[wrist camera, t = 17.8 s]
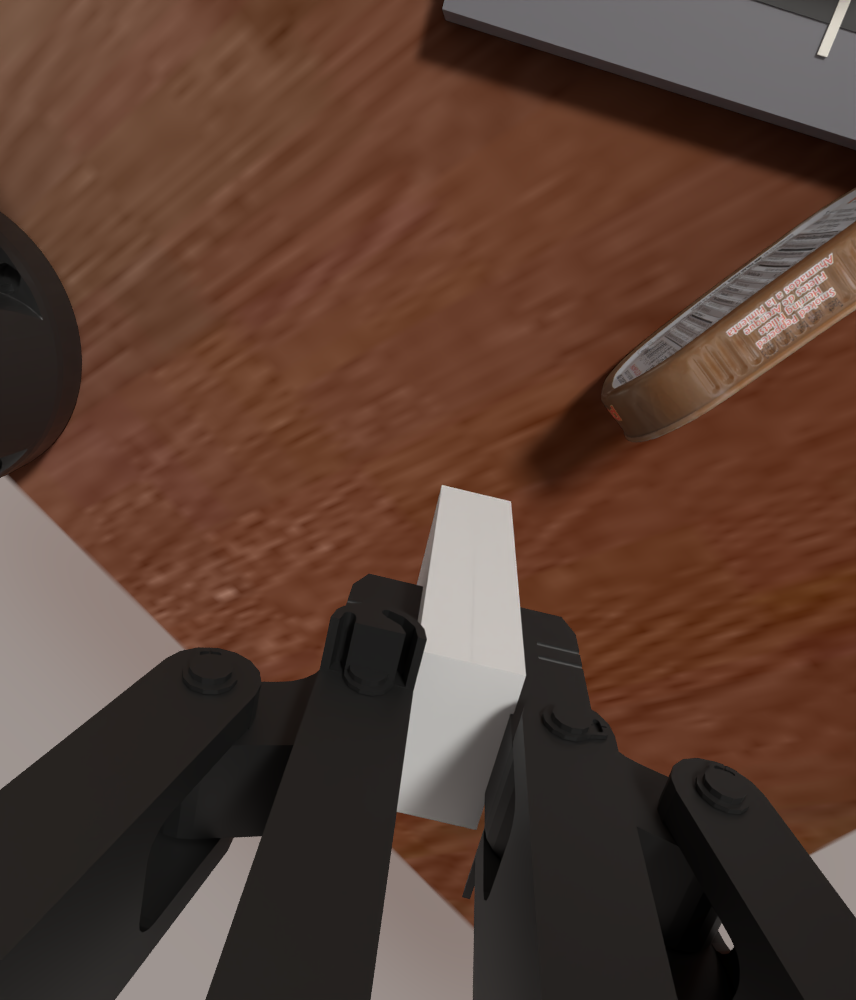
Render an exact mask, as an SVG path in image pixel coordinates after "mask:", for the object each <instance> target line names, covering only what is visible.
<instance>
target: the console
mask: <svg viewBox="0 0 856 1000" xmlns="http://www.w3.org/2000/svg"><path fill="white" fill-rule="evenodd" d="M442 10H443V14H444V17H445V20H446V21H450V22H453V23H456V24H459V25H462V26H465V27H469V28H472V29H475V30H478V31H481V32H484V33H488V34H491V35H494V36H497V37H500V38H503V39H506V40H510V41H513V42H516V43H519V44H522V45H525V46H529V47H532V48H535V49H538V50H541V51H544V52H548V53H551V54H554V55H557V56H560V57H563V58H566V59H570V60H573V61H576V62H579V63H582V64H585V65H589V66H592V67H595V68H598V69H601V70H604V71H608V72H611V73H614V74H617V75H620V76H623V77H626V78H630V79H633V80H636V81H639V82H642V83H645V84H649V85H652V86H655V87H658V88H661V89H664V90H668V91H671V92H674V93H677V94H680V95H683V96H686V97H690V98H693V99H696V100H699V101H702V102H705V103H709V104H712V105H715V106H718V107H721V108H724V109H728V110H731V111H734V112H737V113H740V114H743V115H746V116H750V117H753V118H756V119H759V120H762V121H765V122H769V123H772V124H775V125H778V126H781V127H784V128H788V129H791V130H794V131H797V132H800V133H803V134H806V135H810V136H813V137H816V138H819V139H822V140H825V141H829V142H832V143H835V144H838V145H841V146H844V147H848V148H851V149H854V150H856V0H444V3H443V7H442Z"/></svg>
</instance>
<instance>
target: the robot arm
mask: <svg viewBox="0 0 856 1000" xmlns="http://www.w3.org/2000/svg"><path fill="white" fill-rule="evenodd" d="M81 371H82V355H81V344H80V336H79V331H78V326H77V323H76V319H75V315H74V312H73V309H72V306H71V303H70V301H69V298H68V296H67V294H66V291H65V289H64V287H63V285H62V283H61V281H60V279H59V278H58V276H57V274H56V272H55V271H54V269H53V268H52V266H51V265H50V263H49V261H48V260H47V259H46V257H45V256H44V255H43V253H42V252H41V251H40V249H39V248H38V247H37V246H36V245H35V243H34V242H33V241H32V240H31V239H30V238H29V237H28V236H27V235H26V234H25V233H24V231H23V230H21V229H20V228H19V227H18V226H17V225H16V224H15V223H14V222H13V221H11V220H10V219H9V218H8V217H6V216H5V215H4V214H3V213H1V212H0V478H1V477H3V476H5V475H7V474H9V473H11V472H13V471H14V470H16V469H18V468H20V467H22V466H24V465H26V464H28V463H29V462H31V461H33V460H34V459H36V458H37V457H38V456H40V455H41V454H42V453H43V452H45V451H46V450H47V449H48V448H49V447H50V446H51V445H52V444H53V443H54V441H55V440H56V439H57V438H58V437H59V435H60V434H61V432H62V431H63V429H64V428H65V426H66V424H67V422H68V421H69V419H70V416H71V414H72V412H73V409H74V406H75V404H76V400H77V397H78V393H79V388H80V382H81ZM581 668H582V663H581V658H580V655H579V649H578V644H577V639H576V635H575V633H574V632H573V631H572V630H571V628H570V627H569V626H568V625H567V624H566V622H565V621H564V620H563V619H562V617H559V616H555V615H550V614H546V613H542V612H538V611H533V610H529V609H525V608H521V607H520V601H519V590H518V578H517V567H516V555H515V544H514V532H513V521H512V509H511V501H506V500H502V499H498V498H494V497H490V496H485V495H481V494H477V493H473V492H469V491H465V490H460V489H456V488H452V487H448V486H444V485H442V487H441V491H440V495H439V499H438V503H437V507H436V511H435V515H434V519H433V523H432V527H431V531H430V535H429V539H428V543H427V546H426V550H425V554H424V558H423V562H422V566H421V570H420V574H419V578H418V582H417V585H415V584H410V583H406V582H402V581H398V580H393V579H389V578H385V577H381V576H377V575H372V574H368V575H366V576H365V577H363V578H362V579H360V580H359V581H357V582H356V583H354V584H353V586H352V589H351V592H350V595H349V598H348V601H347V604H346V606H343V607H341V608H338V609H337V610H336V611H335V613H334V614H333V615H332V616H331V619H330V623H329V628H328V633H327V638H326V642H325V647H324V652H323V657H322V661H321V666H320V670H319V671H318V672H317V673H315V674H313V675H311V676H309V677H307V678H304V679H300V680H295V681H288V682H261V678H260V672H259V670H258V669H257V668H256V667H255V666H254V664H253V663H252V662H251V661H250V660H248V659H246V658H244V657H243V656H241V655H239V654H237V653H235V652H231V651H227V650H223V649H219V648H193V649H188V650H183V651H179V652H178V653H176V654H174V655H172V656H170V657H168V658H166V659H165V660H163V661H162V662H161V663H160V664H158V665H157V666H156V667H155V668H153V669H152V670H151V671H150V672H148V673H147V674H146V675H144V676H143V677H142V678H141V679H139V680H138V681H137V682H136V683H134V684H133V685H132V686H131V687H129V688H128V689H127V690H126V691H124V692H123V693H122V694H120V695H119V696H118V697H117V698H116V699H114V700H113V701H112V702H110V703H109V704H108V705H107V706H106V707H104V708H103V709H102V710H100V711H99V712H98V713H97V714H95V715H94V716H93V717H91V718H90V719H89V720H88V721H87V722H85V723H84V724H83V725H81V726H80V727H79V728H78V729H76V730H75V731H74V732H73V733H71V734H70V735H69V736H68V737H66V738H65V739H64V740H63V741H61V742H60V743H59V744H58V745H56V746H55V747H54V748H53V749H51V750H50V751H49V752H47V753H46V754H45V755H44V756H42V757H41V758H40V759H39V760H37V761H36V762H35V763H33V764H32V765H31V766H30V767H28V768H27V769H26V770H25V771H23V772H22V773H21V774H20V775H18V776H17V777H16V778H15V779H13V780H12V781H11V782H10V783H8V784H7V785H6V786H4V787H3V788H2V789H1V790H0V1000H115V999H116V998H117V996H118V995H119V993H120V992H121V991H122V990H123V988H124V987H125V986H126V984H127V983H128V982H129V980H130V979H131V978H132V976H133V975H134V974H135V972H136V971H137V970H138V968H139V967H140V966H141V965H142V963H143V962H144V961H145V959H146V958H147V957H148V955H149V954H150V953H151V951H152V950H153V949H154V947H155V946H156V945H157V943H158V942H159V941H160V939H161V938H162V937H163V935H164V934H165V933H166V932H167V930H168V929H169V928H170V926H171V925H172V923H173V922H174V921H175V920H176V918H177V917H178V916H179V914H180V913H181V912H182V910H183V909H184V908H185V906H186V905H187V904H188V902H189V901H190V900H191V898H192V897H193V896H194V894H195V893H196V892H197V891H198V889H199V888H200V887H201V885H202V884H203V883H204V881H205V880H206V879H207V877H208V876H209V875H210V873H211V871H213V869H214V868H215V867H216V865H217V864H218V863H219V861H220V860H221V859H222V857H223V856H224V855H225V853H226V852H227V851H228V849H229V847H230V844H231V842H232V840H233V838H234V837H252V836H262V838H261V841H260V843H259V846H258V849H257V852H256V855H255V858H254V861H253V864H252V867H251V870H250V872H249V875H248V878H247V881H246V884H245V887H244V890H243V893H242V896H241V898H240V901H239V904H238V907H237V910H236V913H235V916H234V919H233V922H232V925H231V927H230V930H229V933H228V936H227V939H226V942H225V945H224V948H223V951H222V954H221V956H220V959H219V962H218V965H217V968H216V971H215V974H214V977H213V979H212V982H211V985H210V988H209V991H208V994H207V997H206V1000H370V999H371V992H372V985H373V978H374V970H375V963H376V956H377V948H378V942H379V934H380V927H381V920H382V913H383V906H384V899H385V892H386V884H387V877H388V870H389V863H390V855H391V849H392V841H393V834H394V827H395V820H396V813H397V812H401V813H405V814H410V815H414V816H418V817H423V818H427V819H431V820H436V821H440V822H444V823H449V824H453V825H457V826H462V827H466V828H470V829H475V830H476V829H477V826H478V823H479V819H480V816H481V813H482V810H483V807H484V804H485V828H484V831H483V834H482V837H481V840H480V843H479V846H478V849H477V852H476V855H475V858H474V861H473V864H472V867H471V870H470V873H469V876H468V879H467V882H466V886H465V889H464V893H463V896H462V897H464V898H468V899H470V897H471V894H472V891H473V888H474V886H475V905H474V962H473V963H474V964H473V965H474V966H473V1000H856V918H855V916H854V915H853V914H852V912H851V911H850V910H849V908H848V907H847V906H846V904H845V903H844V901H843V900H842V899H841V898H840V896H839V895H838V893H837V892H836V891H835V889H834V888H833V887H832V885H831V884H830V883H829V881H828V880H827V879H826V877H825V876H824V875H823V873H822V872H821V871H820V869H819V868H818V866H817V865H816V864H815V863H814V861H813V860H812V858H811V857H810V856H809V854H808V853H807V852H806V850H805V849H804V848H803V846H802V845H801V844H800V842H799V841H798V840H797V838H796V837H795V836H794V834H793V833H792V832H791V830H790V829H789V828H788V826H787V825H786V824H785V822H784V821H783V819H782V818H781V817H780V815H779V814H778V813H777V811H776V810H775V809H774V807H773V806H772V805H771V803H770V802H769V801H768V799H767V798H766V797H765V795H764V794H763V793H762V792H761V791H760V790H759V789H758V788H757V787H756V786H755V785H754V784H753V783H752V782H751V781H749V780H748V779H746V778H745V777H744V776H742V775H741V774H739V773H738V772H737V771H735V770H734V769H732V768H730V767H728V766H724V765H723V764H720V763H717V762H714V761H709V760H705V759H700V758H692V759H683V760H681V761H680V762H678V763H677V764H675V765H674V766H673V768H672V770H671V773H670V775H669V777H667V776H665V775H663V774H660V773H658V772H656V771H654V770H651V769H649V768H647V767H645V766H643V765H640V764H638V763H637V762H635V761H633V760H631V759H629V758H627V757H625V756H624V755H623V754H621V753H620V752H618V747H617V743H616V739H615V736H614V734H613V732H612V730H611V728H610V726H609V724H608V723H607V722H606V721H605V720H604V719H603V718H602V717H601V716H600V715H599V714H598V713H596V712H595V711H593V710H591V706H590V701H589V696H588V692H587V687H586V682H585V677H584V673H583V669H581ZM721 923H722V924H723V926H724V927H725V929H726V931H727V933H728V934H729V936H730V938H731V940H732V942H733V945H734V948H733V949H732V950H731V951H730V949H729V948H728V947H727V945H726V944H725V943H724V941H723V939H722V937H721V935H720V933H719V932H718V929H719V927H720V925H721Z"/></svg>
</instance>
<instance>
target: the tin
mask: <svg viewBox="0 0 856 1000" xmlns="http://www.w3.org/2000/svg"><path fill="white" fill-rule="evenodd" d="M854 310H856V188H854V189H852V190H850V191H849V192H847V193H846V194H844V195H842V196H841V197H839V198H837V199H836V200H834V201H833V202H831V203H830V204H828V205H827V206H825V207H823V208H822V209H820V210H819V211H818V212H816V213H815V214H813V215H812V216H810V217H809V218H808V219H806V220H805V221H803V222H802V223H800V224H799V225H798V226H796V227H795V228H794V229H792V230H791V231H790V232H788V233H787V234H785V235H784V236H783V237H781V238H780V239H779V240H777V241H776V242H775V243H773V244H772V245H771V246H769V247H768V248H766V249H765V250H764V251H762V252H761V253H759V254H758V255H757V256H755V257H754V258H753V259H751V260H750V261H749V262H747V263H746V264H744V265H743V266H742V267H740V268H739V269H738V270H736V271H735V272H733V273H732V274H731V275H729V276H728V277H727V278H725V279H724V280H723V281H721V282H720V283H719V284H717V285H716V286H715V287H713V288H712V289H711V290H709V291H708V292H707V293H705V294H704V295H703V296H701V297H700V298H699V299H697V300H696V301H695V302H693V303H692V304H691V305H689V306H688V307H687V308H685V309H684V310H683V311H682V312H680V313H679V314H678V315H676V316H675V317H674V318H672V319H671V320H670V321H669V322H667V323H666V324H665V325H663V326H662V327H661V328H659V329H658V330H657V331H656V332H654V333H653V334H652V335H651V336H649V337H648V338H647V339H646V340H645V341H643V342H642V343H641V344H640V345H639V346H637V347H636V348H635V349H634V350H633V351H632V352H631V353H629V354H628V355H627V356H626V357H625V358H624V359H623V360H622V361H621V362H620V363H619V364H618V365H617V366H616V367H615V368H614V369H613V370H612V372H611V373H610V374H609V375H608V377H607V378H606V380H605V382H604V384H603V388H602V393H601V400H602V402H603V404H604V405H605V407H606V408H607V410H608V411H609V412H610V414H611V415H612V416H613V417H614V419H615V420H616V421H617V422H618V424H619V425H620V426H621V428H622V429H623V430H624V435H625V437H626V439H627V440H628V441H631V442H642V441H648V440H650V439H655V438H657V437H660V436H662V435H664V434H667V433H669V432H671V431H673V430H675V429H677V428H679V427H681V426H683V425H685V424H687V423H689V422H691V421H693V420H695V419H696V418H698V417H699V416H701V415H703V414H705V413H706V412H708V411H709V410H711V409H713V408H714V407H715V406H717V405H719V404H720V403H722V402H723V401H725V400H726V399H728V398H729V397H731V396H732V395H734V394H735V393H736V392H738V391H739V390H741V389H742V388H744V387H745V386H746V385H748V384H749V383H751V382H752V381H754V380H755V379H756V378H758V377H759V376H761V375H762V374H763V373H765V372H766V371H768V370H769V369H771V368H772V367H774V366H775V365H777V364H778V363H779V362H781V361H782V360H784V359H785V358H787V357H788V356H789V355H791V354H792V353H794V352H795V351H797V350H798V349H799V348H801V347H802V346H803V345H805V344H806V343H808V342H809V341H811V340H812V339H814V338H815V337H817V336H818V335H819V334H821V333H822V332H824V331H825V330H827V329H828V328H830V327H831V326H832V325H834V324H835V323H837V322H838V321H840V320H841V319H843V318H844V317H845V316H847V315H848V314H850V313H851V312H853V311H854Z"/></svg>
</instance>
